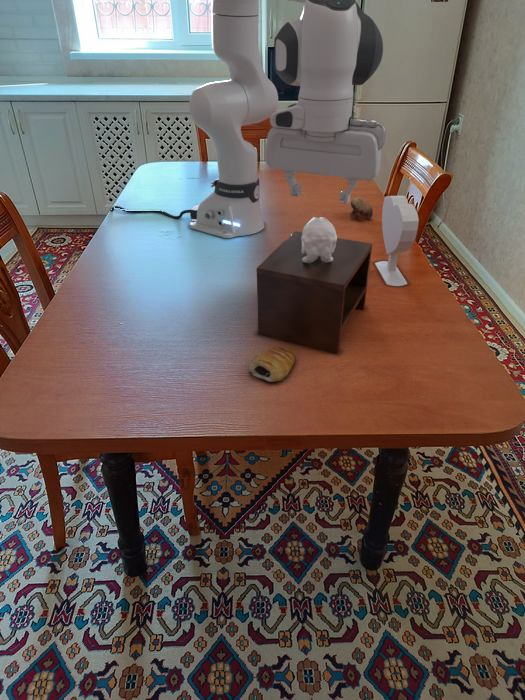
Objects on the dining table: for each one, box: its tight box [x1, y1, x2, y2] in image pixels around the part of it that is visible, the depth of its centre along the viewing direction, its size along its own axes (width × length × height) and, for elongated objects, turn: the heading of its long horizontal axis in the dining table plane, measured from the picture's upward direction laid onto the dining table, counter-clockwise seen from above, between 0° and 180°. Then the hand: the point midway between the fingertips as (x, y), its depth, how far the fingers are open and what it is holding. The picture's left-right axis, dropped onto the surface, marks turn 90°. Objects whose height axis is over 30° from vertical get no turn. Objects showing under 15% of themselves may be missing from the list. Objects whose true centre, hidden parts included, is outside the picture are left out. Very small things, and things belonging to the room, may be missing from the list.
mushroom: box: [348, 197, 374, 220], centre depth 149 cm, size 8×8×6 cm
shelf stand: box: [256, 230, 373, 355], centre depth 99 cm, size 17×19×15 cm
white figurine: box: [301, 216, 338, 263], centre depth 93 cm, size 6×8×12 cm
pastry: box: [248, 345, 297, 383], centre depth 90 cm, size 9×7×4 cm
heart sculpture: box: [374, 195, 420, 287], centre depth 115 cm, size 16×5×18 cm, turn 4°
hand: (319, 198), depth 89 cm, fingers open, 8 cm apart
